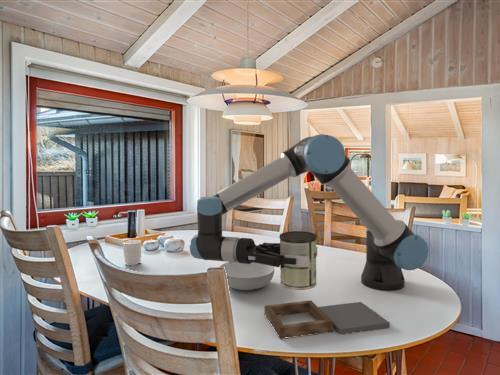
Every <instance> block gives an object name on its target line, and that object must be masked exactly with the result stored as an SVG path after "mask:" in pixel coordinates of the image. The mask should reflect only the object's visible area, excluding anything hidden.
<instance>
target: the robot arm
mask: <svg viewBox="0 0 500 375" xmlns="http://www.w3.org/2000/svg"><path fill="white" fill-rule="evenodd" d="M308 172H310V173H311V174H312V175H313V176H314V177H315V179H316V180H317V181H318V182H319V183H320V185H322V186H323V185H327V186H329V187H330V188H331V189H332V190H333V192H335V194H336V195H337V197H339V198H340V199H341V200H342V202H344V204H345V205H346V206H347V207H348V208H349V209H350V210H351V212H352V213H353V214H354V215H355V216H356V217H357V218H358V220H360V222H361V223H362V224H363V226H365V228H366V230H365V233H366V236H365V237H366V239H365V240H366V241H365V242H366V244H365V245H366V248H365V251H366V252H365V253H366V256H365V257H366V260H365V264H364V267H363V270H362V273H361V280H360V283H361V284H363V285H364V286H366V287H368V288H370V289H375V290H382V291H396V290H397V291H398V290H400V289H404V288H405V283H406V280H405V277H404V274H403V270H405V271H414V270H417V269H419V268H420V267H422V266H423V265H424V264H425V262H426V260H427V259H428V256H429V255H428V254H429V251H430V250H429V244H428V242H427V240H426V239H425V238H424V237H422V236H421V235H419V234H416V233H414V232H413V231H412V230H411V228H410V227H409V226H408V225H407V224H406V223H405V221H403V220H399V219H396V218H395V217H394V216H393V215H392V214H391V212H390V211H388V209H387V208H386V207H385V205H383V203H382V202H381V201H380V200H379V199H378V198H377V196H376V195H375V194H374V193H373V192H372V191H371V190H370V188H369V187H368V186H367V185H366V184H365V183H364V182H363V180H362V179H361V178H360V177H359V176H358V175H357V174H356V172H355V171H354V170H353V169H352V168H351V159H350V158H349V156H347V154H346V150H345V147H344V144H342V142H341V141H340V140H339V139H338V138H337V137H335V136H333V135H329V134H324V133H323V134H315V135H314V136H308V137H304V138H302V139H301V140H300V141H298V142H297V143H295V144H294V145H293V146H291V147H289V148H287V150H284V151H283V152H281V153H280V157H278V158H276V159H275V160H273V161H271V162H269V163H268V164H266V165H264V166H262V167H260V168H258V169H257V170H255V171H253V172H251V173H250V174H248V175H246V176H245V177H243V178H241V179H239V180H237V181H236V182H234V183H232V184H230V185H228V186H227V187H225V188H223V189H221V190H219V191H217V192H216V193H214V194H212V195H211V196H201V197H198V198H197V200H196V201H197V203H196V211H197V212H196V213H197V214H196V216H197V217H196V218H197V219H196V220H197V234H195V235H193V236H192V238H191V239H190V245H189V252H190V255H191V256H192V257H193V258H195V259H198V260H203V261H214V262H215V261H217V262H225V263H227V262H229V263H230V264H232V262H235V263H237V262H239V263H243V264H251V263H252V262H254V263H260V264H265V265H269V266H273V267H274V268H284V264H285V265H290V266H301V267H309V256H298V255H285V257H284V256H283V255H280V242H278V243H277V242H263V243H259V244H258V245H256V243H255V241H254V239H253V238H250V237H249V238H248V237H241V238H240V237H239V236H237V237H236V236H224V235H223V216H224V215H225V214H227V213H228V212H230V211H232V210H234V209H235V208H237V207H240V205H241V206H242V204H244V203H246V202H248V201H249V200H251V199H253V198H254V197H257V196H259V195H261V194H262V193H264V192H266V191H267V190H269V189H272V188H273V187H275V186H277V185H278V184H279V183H281V182H284V181H286V180H287V179H288V178H291V177H292V178H297V177H299V176H300V175H303V174H305V173H308ZM317 257H318V247H317V246H316V258H317Z"/></svg>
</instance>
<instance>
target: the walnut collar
mask: <svg viewBox="0 0 500 375" xmlns="http://www.w3.org/2000/svg"><path fill="white" fill-rule="evenodd" d="M319 307H320V306H318V305H316V303H315V302H313V300H302V301H292V302H286V303H285V302H284V303H277V304H275V303H274V304H268V305H267V304H266V305H264V308H263V309H264V313H263V314H264V316H265V315H266V317H267V318H268V320H269V321H270V323H271V324H272V326H273V327H274V329H275V331H276V332H277V334H278V335H279V337H280V338H285V337H292V338H294V337H293V336H300V337H302V336H301V335H307V336H309V335H308V334H314V335H316V334H315V333H321V334H323V333H322V332H328V333H331V332H330V331H333V332H334V329H333V321H332V320H331V319H330V318H329V317H328V316H327V315H326V314H325V313H324V312H323V311H322V310H321V309H320V308H319ZM297 313H298V314H304V313H309V315H310V316H313V317H314V318H315V319H316V320H317V321H316V320H315V319H314V318H313V317H312V318H313V319H314V320H313V321H304V322H296V323H287V324H284V323H283V321H281V319H280V317H279V316H277V315H282V316H287V315H286V314H290V315H296V314H297ZM266 317H265V318H266ZM267 318H266V319H267ZM268 320H267V321H268ZM269 321H268V322H269ZM270 323H269V324H270ZM271 324H270V325H271ZM272 326H271V327H272ZM273 327H272V328H273ZM274 329H273V330H274ZM275 331H274V332H275ZM276 332H275V333H276ZM277 334H276V335H277ZM278 335H277V336H278ZM279 337H278V338H279ZM280 338H279V339H280ZM285 339H286V338H285Z"/></svg>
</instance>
